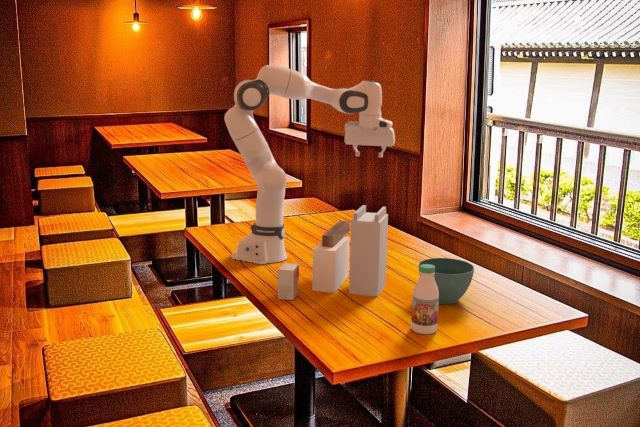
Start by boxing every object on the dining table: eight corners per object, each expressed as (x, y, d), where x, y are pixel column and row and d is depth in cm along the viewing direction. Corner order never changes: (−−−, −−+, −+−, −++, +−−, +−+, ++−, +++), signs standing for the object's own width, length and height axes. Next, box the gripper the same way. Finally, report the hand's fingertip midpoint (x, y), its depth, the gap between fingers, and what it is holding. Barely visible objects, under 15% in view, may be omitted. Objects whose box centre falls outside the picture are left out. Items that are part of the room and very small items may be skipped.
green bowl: (460, 314, 210) (462, 277, 208) (408, 302, 220) (409, 267, 217) (479, 297, 225) (481, 263, 223) (429, 287, 235) (431, 254, 232)
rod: (321, 246, 230) (322, 235, 229) (339, 230, 253) (339, 220, 252) (333, 247, 229) (333, 236, 228) (349, 231, 252) (349, 221, 251)
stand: (349, 293, 227) (351, 213, 221) (358, 281, 241) (360, 204, 234) (377, 296, 225) (380, 215, 218) (385, 284, 238) (388, 207, 232)
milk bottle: (408, 325, 200) (411, 262, 196) (433, 324, 201) (437, 261, 197) (414, 335, 193) (417, 270, 189) (440, 334, 194) (443, 269, 189)
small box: (293, 300, 220) (293, 270, 218) (277, 299, 221) (277, 269, 219) (299, 292, 228) (299, 263, 225) (283, 291, 229) (283, 262, 226)
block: (312, 290, 230) (312, 249, 227) (327, 273, 249) (328, 235, 246) (334, 292, 228) (335, 251, 225) (348, 275, 247) (349, 237, 243)
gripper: (342, 121, 263) (342, 156, 266) (393, 123, 257) (392, 158, 260) (346, 120, 268) (345, 154, 271) (396, 122, 263) (395, 156, 266)
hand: (369, 156), depth 266 cm, fingers open, 8 cm apart
